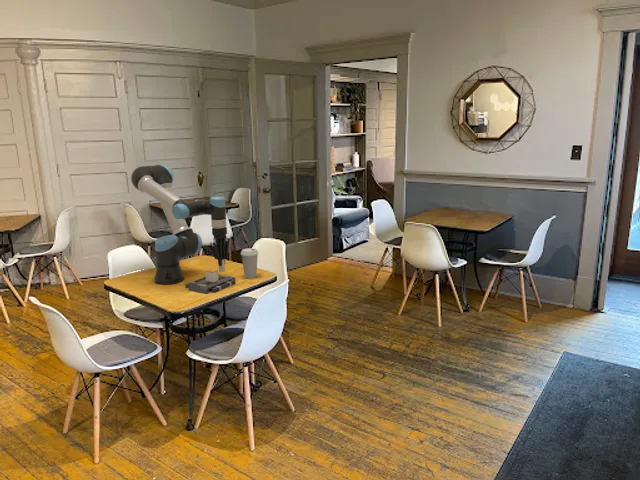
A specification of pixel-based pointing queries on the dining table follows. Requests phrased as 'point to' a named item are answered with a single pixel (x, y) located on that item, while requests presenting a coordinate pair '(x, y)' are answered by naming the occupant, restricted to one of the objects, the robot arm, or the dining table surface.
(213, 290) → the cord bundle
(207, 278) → the lever
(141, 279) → the dining table surface
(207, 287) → the panel
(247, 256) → the coffee cup
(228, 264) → the dining table surface
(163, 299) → the dining table surface
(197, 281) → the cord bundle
